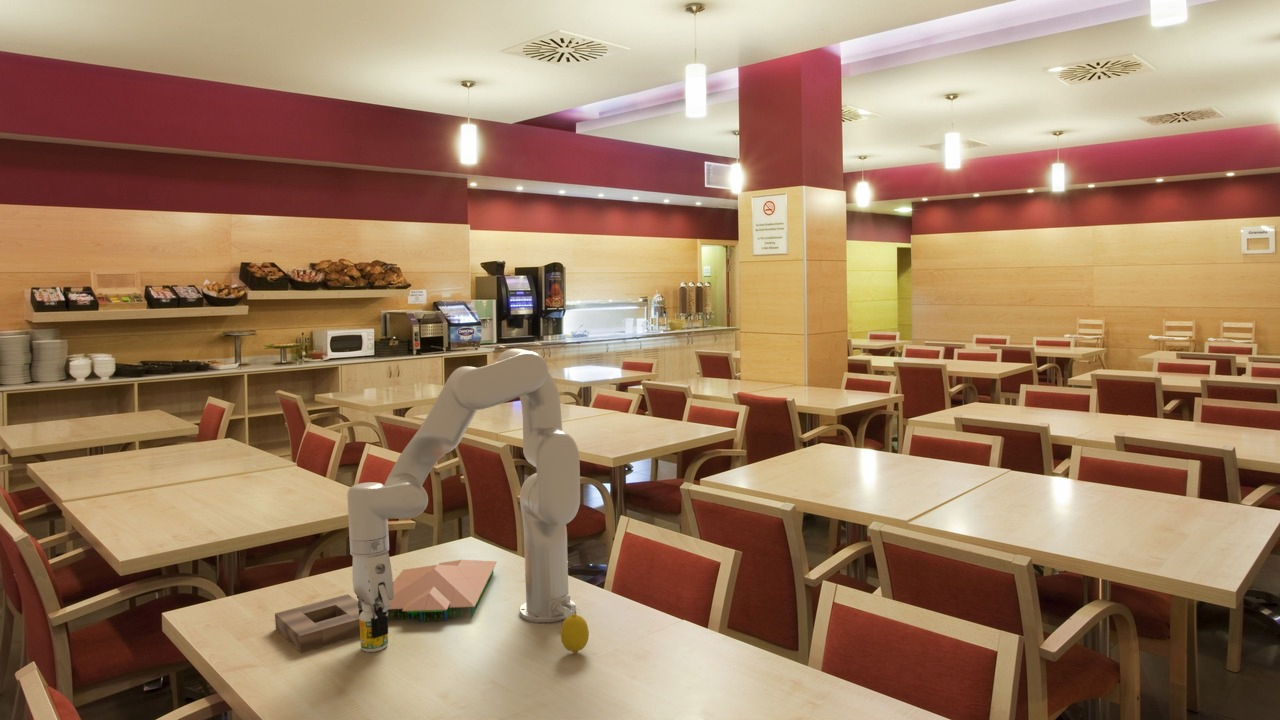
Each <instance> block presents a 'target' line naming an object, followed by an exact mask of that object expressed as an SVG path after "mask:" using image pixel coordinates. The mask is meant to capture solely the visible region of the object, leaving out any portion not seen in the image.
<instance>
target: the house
mask: <svg viewBox="0 0 1280 720" xmlns="http://www.w3.org/2000/svg"><path fill="white" fill-rule="evenodd" d="M497 563H498V561H497V560H496V561H495V560H492V561H491V560H475V559H456V560H452V561H450V560H449V561H443V562H439V563H438V564H433V565H425V566H420V567H413V568H406V569H402V570H401V572H400V573H399V574H398V576H396V578H395V579H394V580H393V589H394V598H393V599H392V600H389V601H390V608H389V609H388V610H397V611H398V613H397V615H398V617H400V613H399V612H400V611H399V610H401V612H405V615H407V616H408V617H407V619H408V620H409V615H410V620H414V615H415V617H416V618H415V619H416V620H417V617H418V616H417V615H418V614H419V622H420V623H422V621H423V620H424V622H426V621H425V620H426V619H425V618H426V615H425V613H431V614H433V613H435V614H434V618H435V619H434V620H435V621H437V620H436V619H437V615H436V613H437V612H438V613H440V612H441V617H443V618H444V622H446V619H448V617H449V616H450V615H452V613H453V616H454V619H455V618H456V617H455V616H456V615H455V611H452V609H460V610H461V611H457V614H459V613H460V614H461V616H463V614H462V613H463V611H462V610H463V609H462V608H464V609H465V608H468V609H470V613H471V614H470V615H471V618H473V617H474V614H475V612H476V610H477V608H478V606H479V604H480V602H481V600H482V598H483V595H484V594H485V591H486V589H487V588H488V586H489V583H490V581H491V579H492V577H493V574H494V569H495V566H496V564H497ZM491 576H492V577H491ZM451 611H452V612H451ZM442 613H443V614H442ZM392 616H393V613H390V620H392V619H393V618H392ZM464 616H465V619H466V617H467V616H466V615H464ZM403 617H404V616H403V615H402V616H401V618H402V619H401V620H404V619H403ZM427 621H428V622H429V619H427ZM438 621H439V622H440V619H438Z"/></svg>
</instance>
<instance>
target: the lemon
mask: <svg viewBox="0 0 1280 720" xmlns="http://www.w3.org/2000/svg"><path fill="white" fill-rule="evenodd" d="M589 633H590V631H589V627H588V623H587V621H586V620H585V619H584V617H582V616H581V615H579V614H578V615H577V614H576V613H574V614H572V615H571V616H569V617H567V618H566V619H564V621H563V622H562V625H561V628H560V640H561V643H562V645H563V648H564V649H566V650H568V651H570V652H572V654H577V653H578V652H579V651H582V650H583V649H584V648H585V647H586V646H587V644H588V641H589V635H590V634H589Z"/></svg>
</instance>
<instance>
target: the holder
mask: <svg viewBox="0 0 1280 720" xmlns="http://www.w3.org/2000/svg"><path fill="white" fill-rule="evenodd" d="M359 610H360V609H359V608H358V599H356V598H354V596H353V597H352V596H351V595H350V594H349V593H348V594H344V595H340V596H336V597H332V598H329V599H328V598H327V599H324V600H321V601H318V602H312V603H310V604H306V605H305V604H304V605H302V606H299V607H295V608H290V609H286V610H283V611H279V612H276V613H275V612H274V621H275V622H274V623H275V630H276V629H277V630H278V631H279V632H280V633H281V634H280V633H279V632H278V631H277V630H276V631H277V632H278V633H279V634H280V635H281V636H283V638H285V640H287V641H288V642H289V643H290V642H291V643H292V644H291V643H290V644H291V645H292V646H293V645H294V646H295V647H296V648H297V649H296V648H295V647H294V646H293V647H294V648H295V649H296V650H298V652H300V653H305V652H308V651H311V650H314V648H315V649H318V648H321V647H325V646H329V645H331V644H334V643H338V642H340V641H343V640H344V641H345V640H348V639H350V638H351V639H352V638H354V637H358V636H360V626H359ZM324 645H325V646H324ZM317 647H318V648H317ZM304 651H305V652H304Z"/></svg>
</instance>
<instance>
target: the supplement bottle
mask: <svg viewBox="0 0 1280 720" xmlns="http://www.w3.org/2000/svg"><path fill="white" fill-rule="evenodd" d="M375 601H376V602H378V601H380V598H378V599H375ZM379 607H381V604H379V605H376V610H377V609H378V608H379ZM362 610H363V611H362V612H361V613H360V615H359V624H360V635H359V637H360V649H361V650H362V651H363V652H366V653H374V652H380V651H382V650H384V649H385V648H387V647H388V645H389V636H388V635H389V633H388V634H386V635H383V636H380V637H377V638H373V637H372V630H371V618H373V615H372V610H371V604H369V603H367V602H366V601H363V602H362Z"/></svg>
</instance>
